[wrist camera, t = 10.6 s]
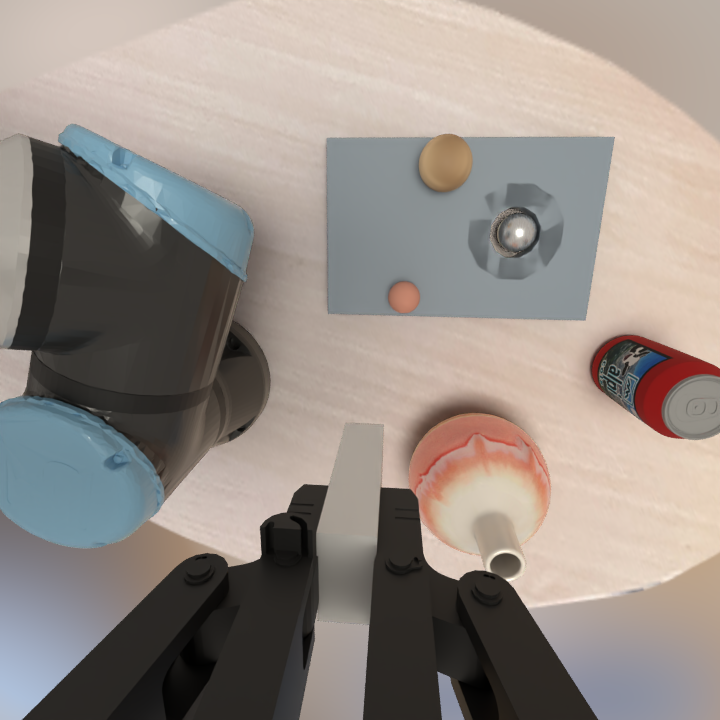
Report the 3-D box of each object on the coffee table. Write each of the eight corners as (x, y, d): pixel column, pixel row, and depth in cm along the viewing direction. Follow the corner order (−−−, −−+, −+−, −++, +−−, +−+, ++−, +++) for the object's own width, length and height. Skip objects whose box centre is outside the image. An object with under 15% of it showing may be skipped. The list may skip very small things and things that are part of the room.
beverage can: (590, 335, 44) (659, 369, 32) (660, 331, 43) (756, 364, 32) (586, 396, 46) (650, 449, 34) (653, 393, 45) (741, 446, 34)
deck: (331, 309, 45) (328, 313, 43) (330, 143, 41) (326, 137, 38) (574, 316, 43) (585, 320, 41) (601, 143, 39) (614, 136, 37)
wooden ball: (416, 194, 39) (418, 189, 35) (418, 140, 38) (421, 128, 34) (465, 194, 39) (474, 189, 35) (470, 140, 38) (479, 127, 33)
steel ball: (494, 251, 40) (534, 252, 38) (498, 212, 39) (539, 211, 37) (496, 251, 43) (533, 251, 42) (500, 214, 42) (538, 214, 41)
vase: (497, 521, 51) (548, 662, 34) (389, 481, 50) (386, 603, 33) (551, 422, 47) (639, 525, 30) (434, 378, 46) (456, 458, 30)
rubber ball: (388, 310, 42) (387, 315, 39) (388, 279, 41) (388, 282, 39) (418, 311, 42) (420, 316, 39) (419, 280, 41) (421, 283, 38)
